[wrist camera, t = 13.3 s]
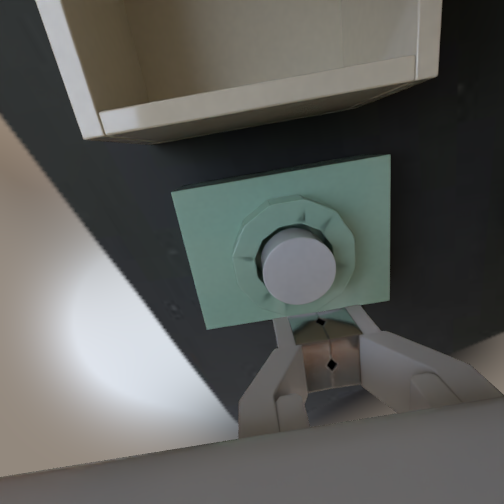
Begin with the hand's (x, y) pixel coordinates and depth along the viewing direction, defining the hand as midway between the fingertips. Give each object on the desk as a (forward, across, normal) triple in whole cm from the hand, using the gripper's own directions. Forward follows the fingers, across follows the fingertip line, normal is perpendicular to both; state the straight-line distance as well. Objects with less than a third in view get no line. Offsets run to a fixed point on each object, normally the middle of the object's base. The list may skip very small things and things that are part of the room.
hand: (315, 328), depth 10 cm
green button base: (+10, 0, 0) cm, 11 cm away
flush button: (+6, 0, 0) cm, 6 cm away
